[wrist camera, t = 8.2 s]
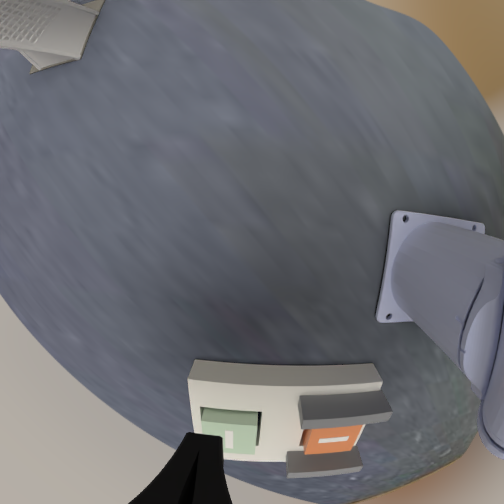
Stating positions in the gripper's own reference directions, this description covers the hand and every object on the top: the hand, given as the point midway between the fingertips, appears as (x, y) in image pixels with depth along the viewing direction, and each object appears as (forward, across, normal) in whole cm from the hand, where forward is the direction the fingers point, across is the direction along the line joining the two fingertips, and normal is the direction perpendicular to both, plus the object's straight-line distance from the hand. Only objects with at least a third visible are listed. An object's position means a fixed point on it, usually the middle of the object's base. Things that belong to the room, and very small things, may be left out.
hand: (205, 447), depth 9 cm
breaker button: (+10, -8, +8) cm, 15 cm away
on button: (+10, 0, +8) cm, 13 cm away
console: (+10, -4, +8) cm, 14 cm away
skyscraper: (+11, +16, -24) cm, 31 cm away
